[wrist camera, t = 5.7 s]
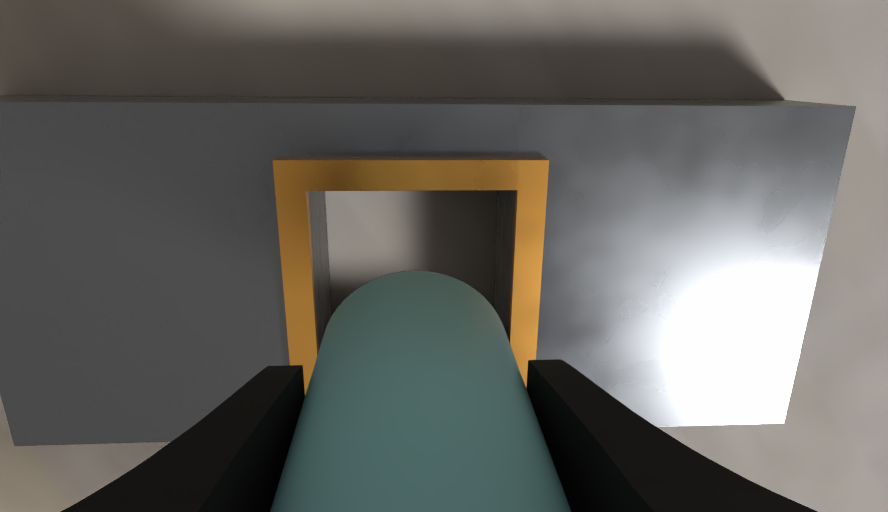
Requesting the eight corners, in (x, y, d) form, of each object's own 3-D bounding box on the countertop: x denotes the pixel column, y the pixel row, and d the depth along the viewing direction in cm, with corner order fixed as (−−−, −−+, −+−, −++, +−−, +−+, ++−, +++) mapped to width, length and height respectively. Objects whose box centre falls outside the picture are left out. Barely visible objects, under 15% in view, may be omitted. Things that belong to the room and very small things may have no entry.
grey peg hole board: (786, 100, 18) (864, 107, 15) (733, 375, 22) (789, 428, 18) (3, 95, 17) (-88, 101, 14) (70, 392, 20) (7, 452, 17)
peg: (512, 269, 12) (705, 645, 4) (503, 434, 13) (639, 954, 5) (314, 271, 11) (137, 677, 4) (325, 440, 13) (208, 989, 5)
